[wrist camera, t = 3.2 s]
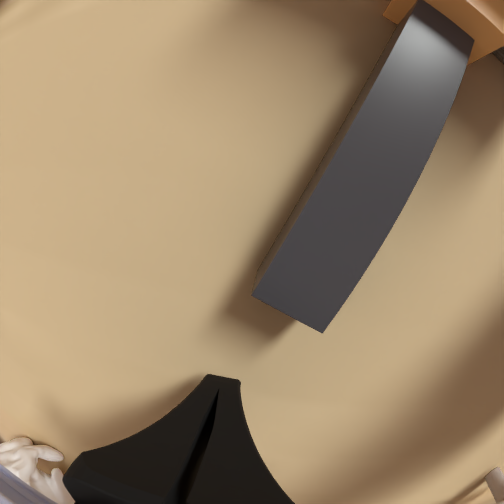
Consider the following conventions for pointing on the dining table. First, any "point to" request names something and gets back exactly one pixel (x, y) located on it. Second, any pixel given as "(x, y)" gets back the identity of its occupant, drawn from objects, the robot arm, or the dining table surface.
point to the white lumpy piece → (24, 467)
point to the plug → (376, 156)
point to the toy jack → (496, 484)
